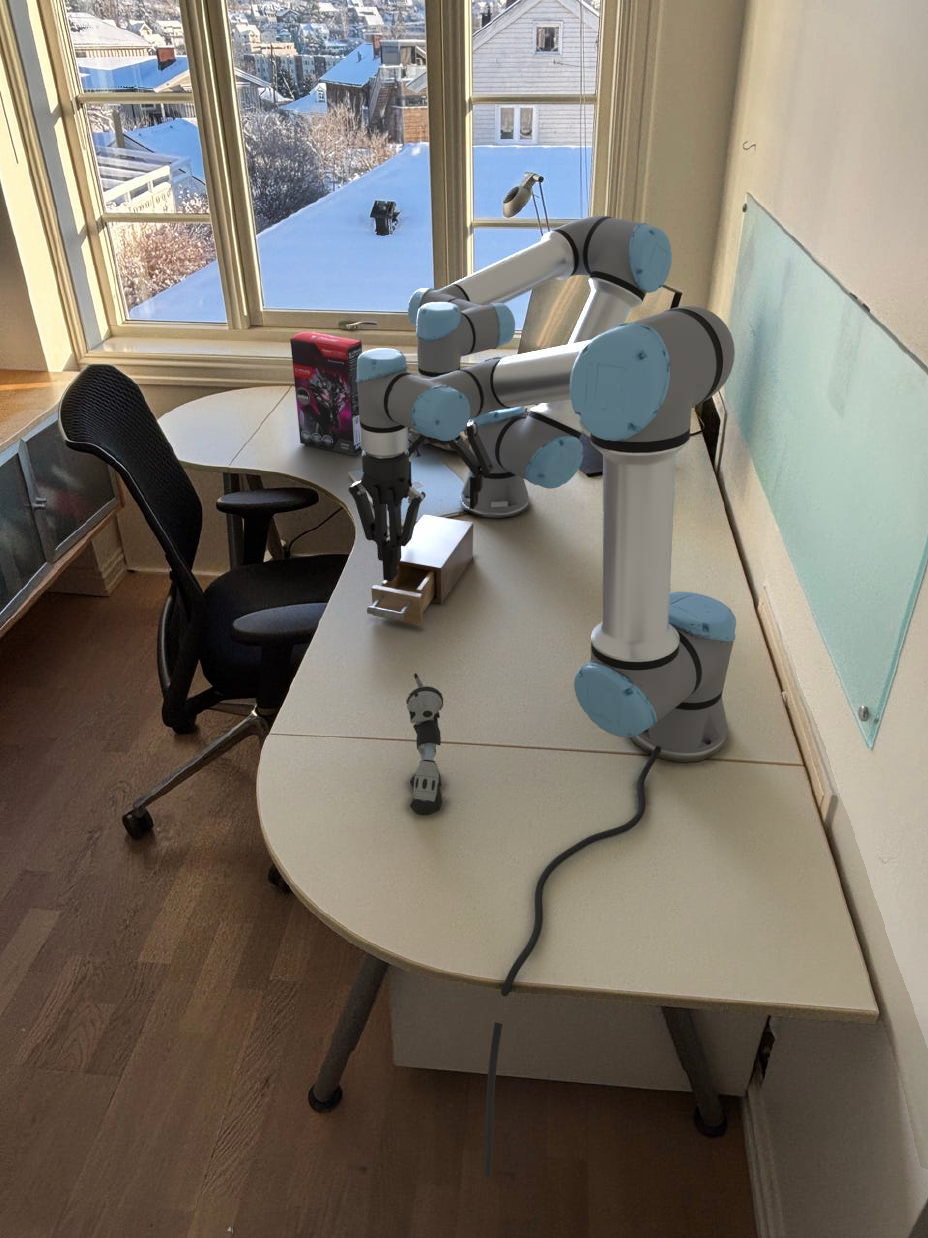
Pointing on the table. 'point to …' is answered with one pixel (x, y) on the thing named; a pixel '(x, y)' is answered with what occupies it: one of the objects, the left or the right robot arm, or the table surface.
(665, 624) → the right robot arm
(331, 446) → the graphics card box
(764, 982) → the table surface
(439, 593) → the cabinet
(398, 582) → the drawer
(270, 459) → the table surface
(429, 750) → the robot
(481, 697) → the table surface
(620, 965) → the table surface
